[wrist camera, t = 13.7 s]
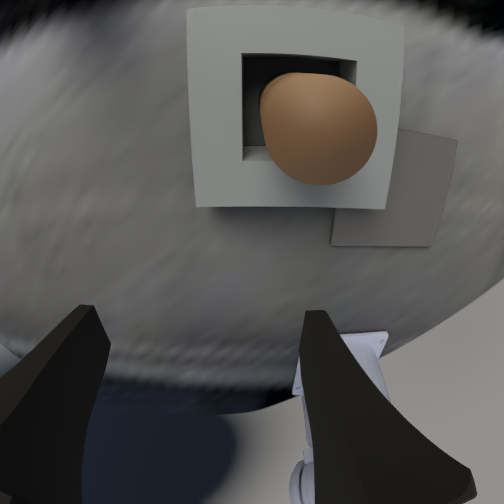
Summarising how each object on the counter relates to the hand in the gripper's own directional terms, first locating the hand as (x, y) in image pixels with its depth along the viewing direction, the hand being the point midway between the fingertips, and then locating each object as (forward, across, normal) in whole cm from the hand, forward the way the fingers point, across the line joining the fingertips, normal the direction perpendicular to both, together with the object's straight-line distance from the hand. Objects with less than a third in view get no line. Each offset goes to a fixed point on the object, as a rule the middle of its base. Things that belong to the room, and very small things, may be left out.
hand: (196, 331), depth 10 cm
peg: (+10, -4, -6) cm, 13 cm away
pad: (+10, -11, -1) cm, 15 cm away
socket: (+10, -4, -6) cm, 13 cm away
